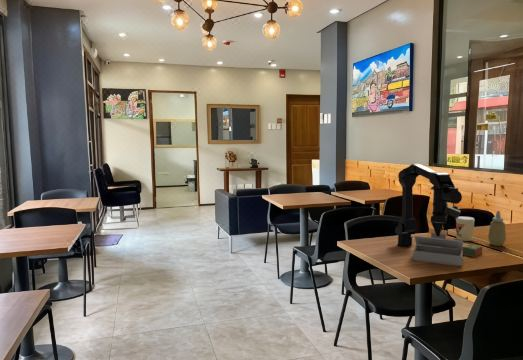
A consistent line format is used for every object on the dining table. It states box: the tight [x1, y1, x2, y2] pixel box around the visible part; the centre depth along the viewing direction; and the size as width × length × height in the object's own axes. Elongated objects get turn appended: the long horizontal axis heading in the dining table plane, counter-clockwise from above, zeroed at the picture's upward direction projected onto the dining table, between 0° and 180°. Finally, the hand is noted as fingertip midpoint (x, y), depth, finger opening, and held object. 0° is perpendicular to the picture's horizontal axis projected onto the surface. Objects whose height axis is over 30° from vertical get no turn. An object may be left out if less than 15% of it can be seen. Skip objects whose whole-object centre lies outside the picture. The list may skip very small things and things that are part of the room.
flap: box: [414, 228, 464, 249], centre depth 181 cm, size 20×12×5 cm
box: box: [412, 244, 463, 267], centre depth 180 cm, size 20×12×4 cm, turn 63°
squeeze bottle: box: [487, 210, 507, 247], centre depth 203 cm, size 8×8×18 cm
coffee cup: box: [455, 215, 476, 242], centre depth 216 cm, size 9×9×12 cm
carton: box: [442, 242, 483, 258], centre depth 192 cm, size 8×16×4 cm, turn 41°
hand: (438, 234), depth 178 cm, fingers open, 9 cm apart
